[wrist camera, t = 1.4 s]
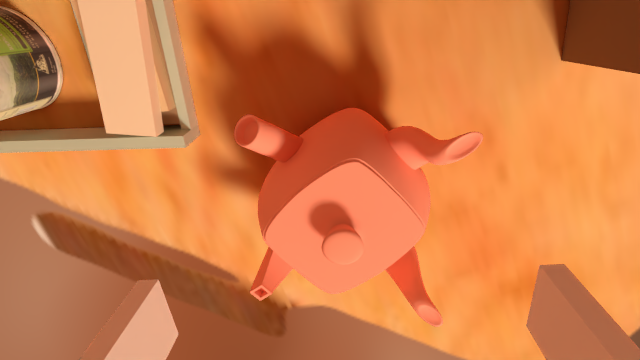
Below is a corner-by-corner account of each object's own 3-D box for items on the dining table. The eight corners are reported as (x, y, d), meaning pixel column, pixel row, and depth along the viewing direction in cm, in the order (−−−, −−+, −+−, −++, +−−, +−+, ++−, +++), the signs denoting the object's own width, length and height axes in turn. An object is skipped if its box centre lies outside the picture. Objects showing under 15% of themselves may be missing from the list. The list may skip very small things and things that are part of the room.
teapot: (436, 92, 35) (489, 136, 23) (415, 243, 43) (445, 338, 31) (257, 90, 36) (212, 132, 24) (268, 239, 44) (239, 329, 32)
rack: (-101, -19, 33) (-173, -24, 29) (165, -36, 31) (134, -45, 27) (-22, 141, 40) (-70, 158, 35) (200, 134, 38) (180, 151, 34)
